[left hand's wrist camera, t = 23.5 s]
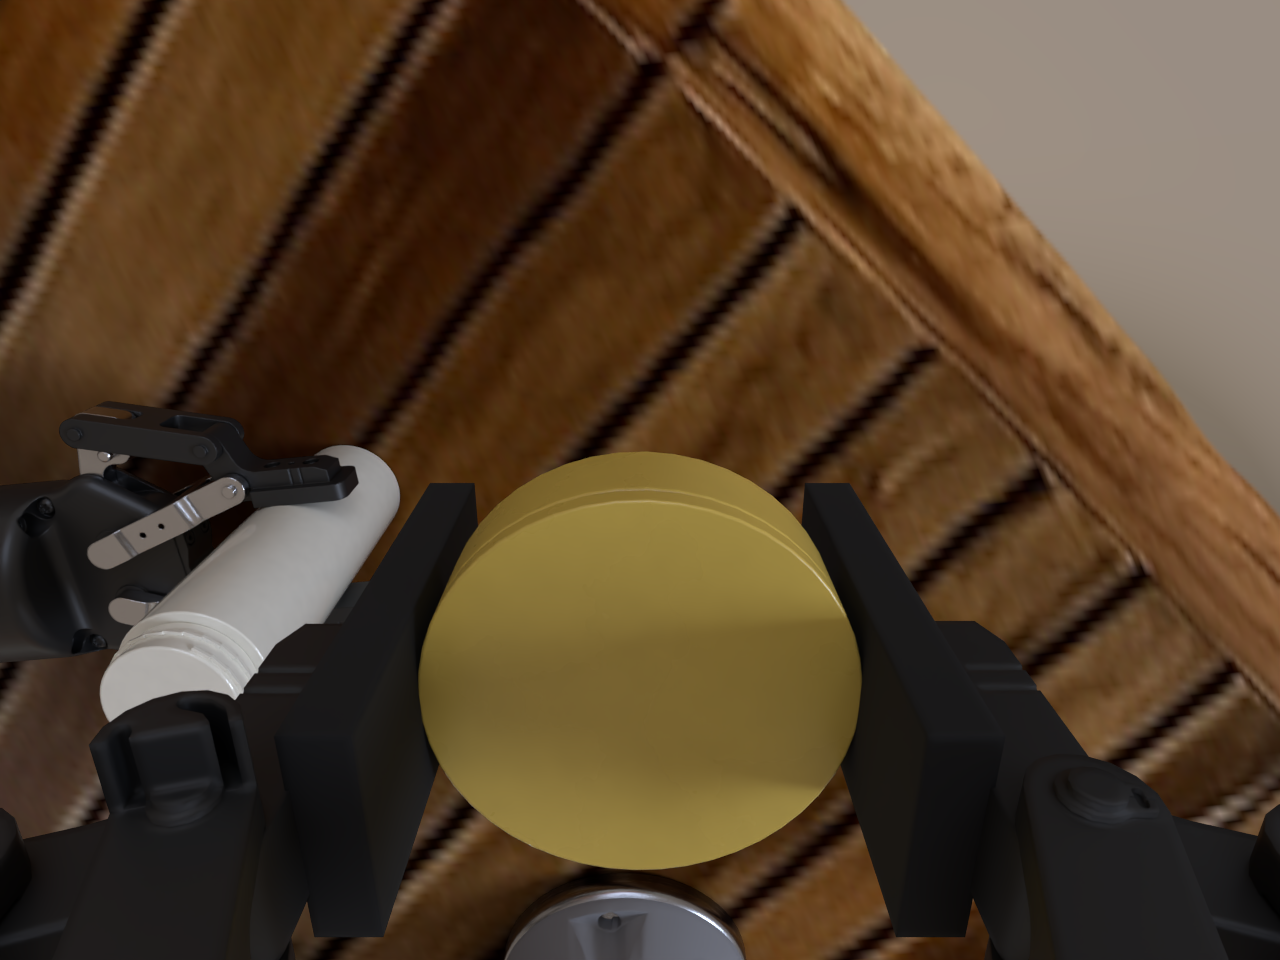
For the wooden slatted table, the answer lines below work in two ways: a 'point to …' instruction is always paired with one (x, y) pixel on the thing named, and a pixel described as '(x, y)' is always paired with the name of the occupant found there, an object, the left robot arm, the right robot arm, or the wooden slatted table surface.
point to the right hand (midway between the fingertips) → (364, 541)
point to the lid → (640, 664)
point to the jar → (253, 592)
